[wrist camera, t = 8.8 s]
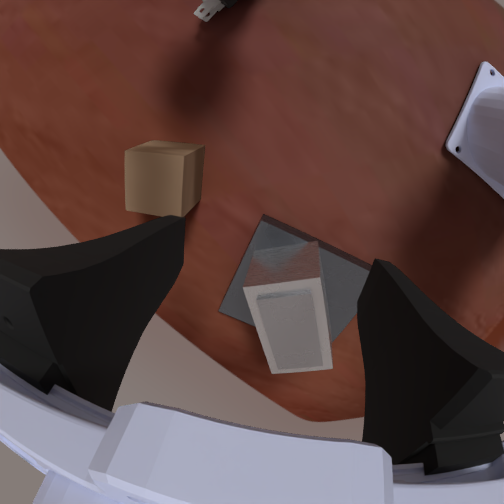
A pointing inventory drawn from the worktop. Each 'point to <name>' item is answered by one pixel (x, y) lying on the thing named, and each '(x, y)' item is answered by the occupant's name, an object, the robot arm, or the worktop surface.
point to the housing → (290, 307)
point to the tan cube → (163, 177)
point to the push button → (212, 7)
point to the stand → (333, 264)
